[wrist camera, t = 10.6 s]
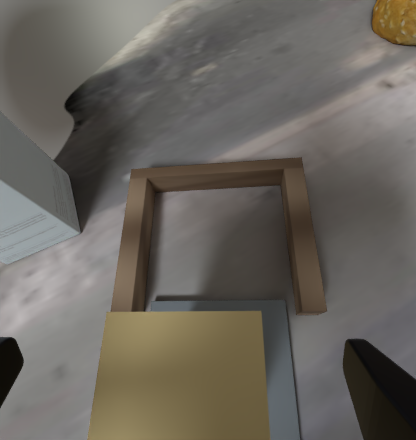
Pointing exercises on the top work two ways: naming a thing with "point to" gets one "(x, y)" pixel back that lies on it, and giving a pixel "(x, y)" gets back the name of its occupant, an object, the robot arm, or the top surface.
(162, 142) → the top surface
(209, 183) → the frame
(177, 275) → the top surface
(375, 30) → the bagel
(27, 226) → the supplement box
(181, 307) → the slate mat
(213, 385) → the ochre block
